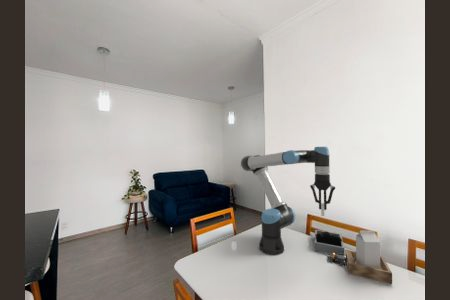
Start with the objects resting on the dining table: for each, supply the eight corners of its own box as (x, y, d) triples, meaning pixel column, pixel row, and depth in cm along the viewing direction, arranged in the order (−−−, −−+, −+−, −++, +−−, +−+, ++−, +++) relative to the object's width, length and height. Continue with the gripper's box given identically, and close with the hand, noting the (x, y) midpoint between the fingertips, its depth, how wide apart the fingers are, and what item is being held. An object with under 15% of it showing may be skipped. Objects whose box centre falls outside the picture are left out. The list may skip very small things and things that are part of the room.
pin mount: (327, 262, 102) (327, 255, 102) (327, 256, 108) (327, 250, 108) (345, 265, 99) (344, 259, 99) (343, 260, 104) (343, 253, 104)
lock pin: (332, 260, 102) (332, 254, 102) (332, 257, 106) (332, 250, 106) (355, 265, 98) (354, 258, 98) (353, 261, 101) (353, 255, 101)
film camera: (339, 243, 122) (339, 229, 122) (342, 251, 113) (343, 236, 113) (313, 239, 127) (313, 226, 127) (315, 246, 118) (315, 232, 118)
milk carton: (380, 273, 91) (379, 234, 91) (365, 272, 92) (364, 233, 92) (370, 264, 98) (369, 228, 98) (356, 263, 99) (355, 227, 99)
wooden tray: (349, 273, 92) (348, 263, 92) (345, 258, 106) (345, 249, 106) (392, 284, 85) (392, 273, 85) (382, 265, 98) (382, 256, 98)
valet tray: (314, 250, 114) (314, 242, 114) (315, 236, 132) (315, 229, 132) (344, 256, 107) (344, 248, 107) (341, 241, 125) (340, 233, 125)
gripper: (309, 173, 106) (309, 215, 106) (335, 175, 100) (336, 219, 100) (309, 172, 113) (310, 211, 112) (334, 173, 107) (335, 214, 106)
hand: (322, 215), depth 106 cm, fingers closed
